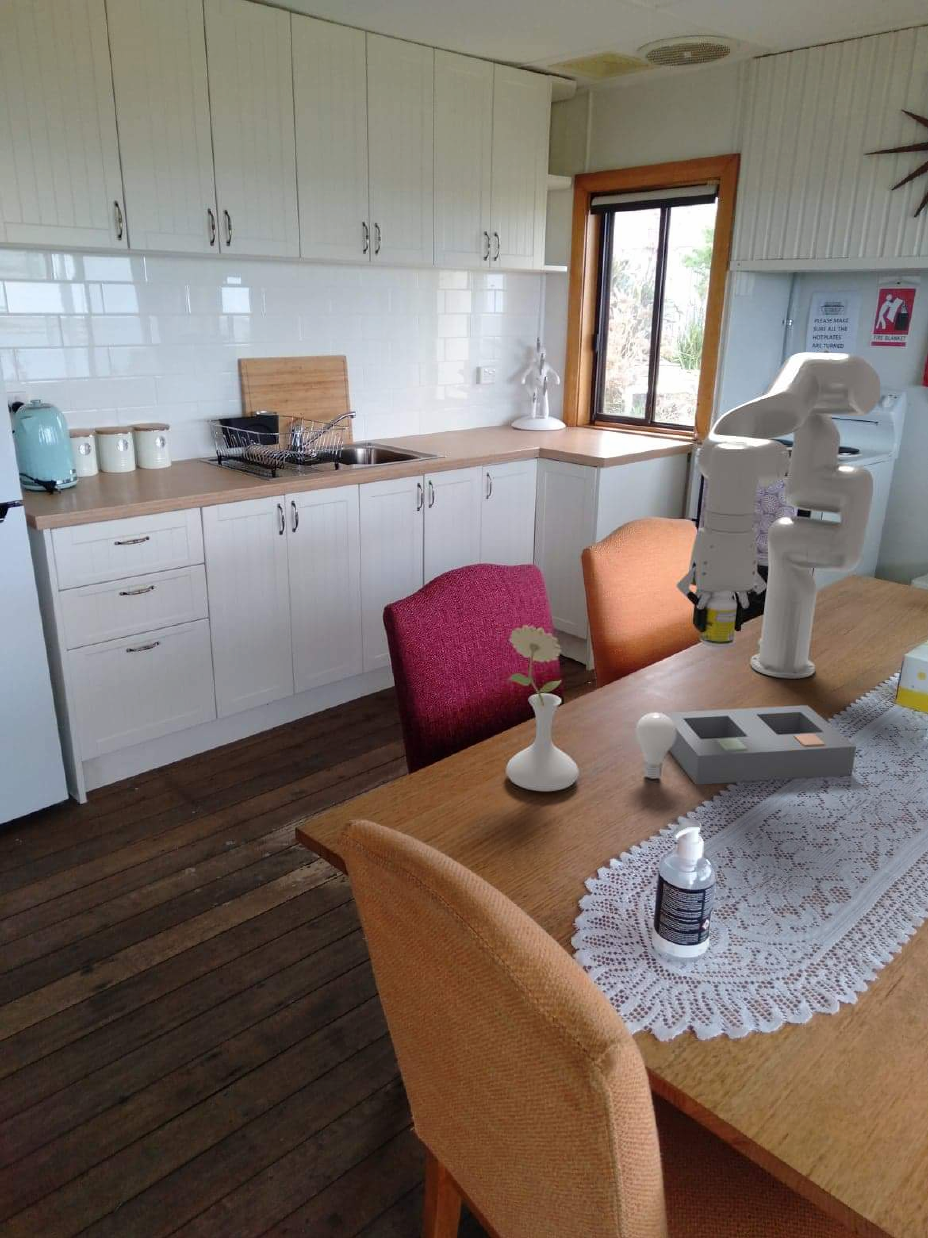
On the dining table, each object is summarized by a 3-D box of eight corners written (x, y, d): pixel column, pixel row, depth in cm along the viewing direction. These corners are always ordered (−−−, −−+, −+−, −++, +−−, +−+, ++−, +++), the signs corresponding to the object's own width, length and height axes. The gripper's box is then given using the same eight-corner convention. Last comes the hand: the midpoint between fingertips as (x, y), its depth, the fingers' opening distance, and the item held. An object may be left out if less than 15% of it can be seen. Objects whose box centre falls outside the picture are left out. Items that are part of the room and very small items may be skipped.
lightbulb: (675, 772, 148) (680, 709, 145) (669, 790, 142) (675, 725, 139) (635, 765, 150) (639, 703, 147) (628, 783, 144) (633, 719, 141)
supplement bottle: (695, 637, 157) (700, 581, 154) (726, 637, 157) (732, 581, 154) (705, 648, 152) (711, 590, 149) (737, 648, 152) (744, 590, 149)
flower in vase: (593, 780, 145) (601, 630, 137) (546, 807, 138) (552, 649, 130) (530, 753, 154) (534, 610, 146) (482, 776, 146) (485, 627, 138)
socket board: (661, 739, 159) (663, 711, 158) (803, 731, 163) (807, 703, 161) (695, 784, 144) (698, 754, 143) (851, 774, 148) (856, 744, 146)
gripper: (769, 516, 153) (757, 621, 158) (669, 517, 151) (660, 623, 156) (790, 526, 145) (776, 635, 151) (684, 527, 143) (674, 638, 149)
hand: (717, 628), depth 154 cm, fingers closed on supplement bottle, 5 cm apart
